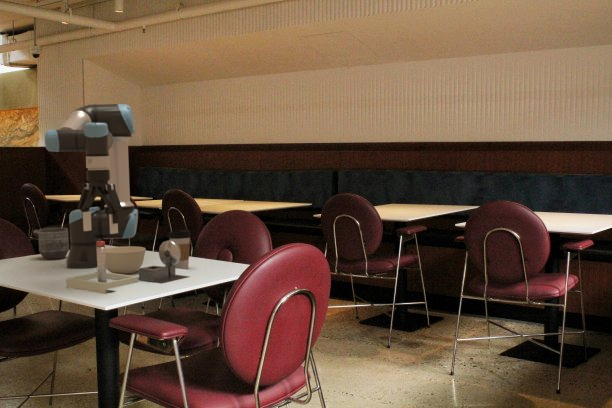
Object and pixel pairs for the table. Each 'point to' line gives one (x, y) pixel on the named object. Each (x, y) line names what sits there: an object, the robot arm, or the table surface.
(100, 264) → the pin
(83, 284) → the tray
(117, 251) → the bowl
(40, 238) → the planter
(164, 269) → the block
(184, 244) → the coffee cup
